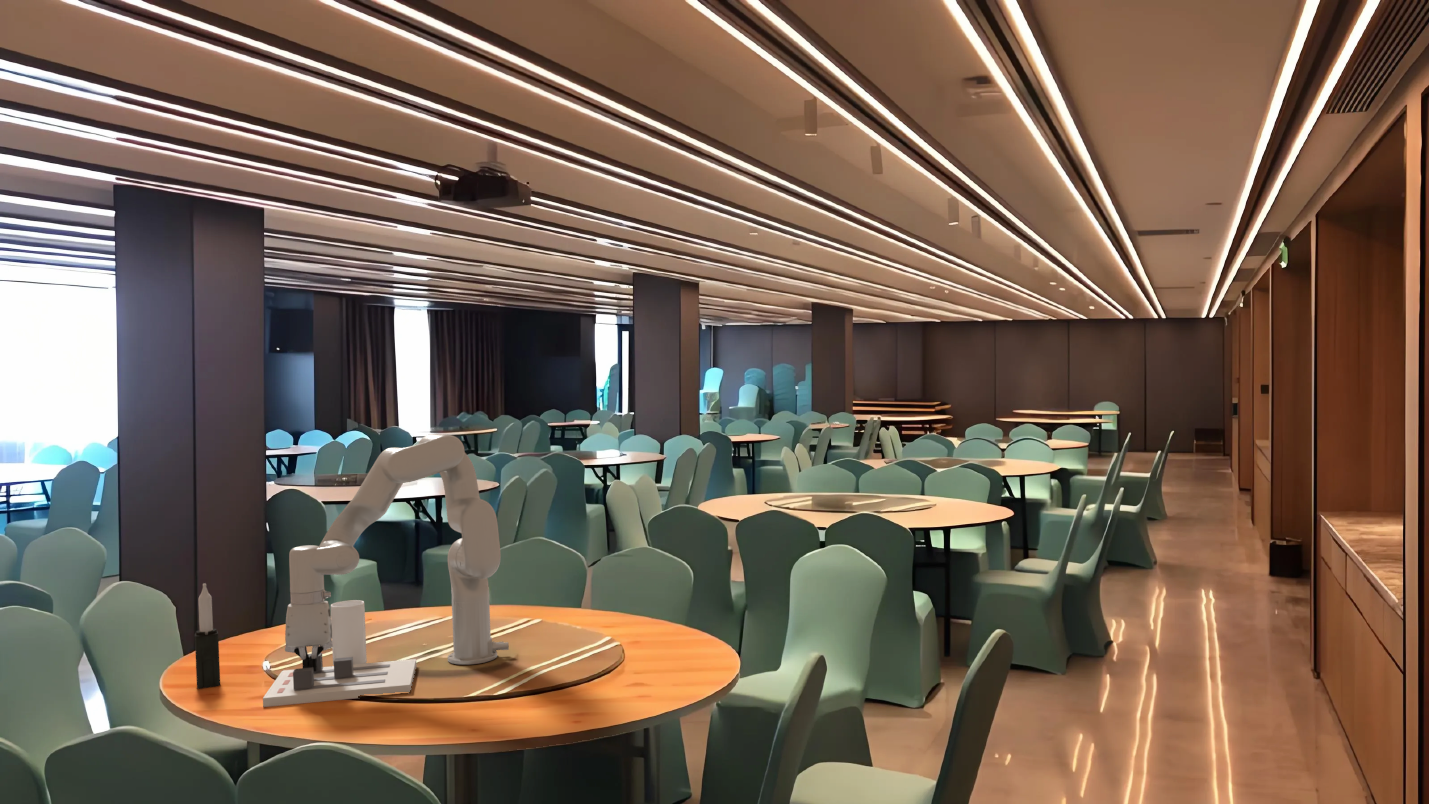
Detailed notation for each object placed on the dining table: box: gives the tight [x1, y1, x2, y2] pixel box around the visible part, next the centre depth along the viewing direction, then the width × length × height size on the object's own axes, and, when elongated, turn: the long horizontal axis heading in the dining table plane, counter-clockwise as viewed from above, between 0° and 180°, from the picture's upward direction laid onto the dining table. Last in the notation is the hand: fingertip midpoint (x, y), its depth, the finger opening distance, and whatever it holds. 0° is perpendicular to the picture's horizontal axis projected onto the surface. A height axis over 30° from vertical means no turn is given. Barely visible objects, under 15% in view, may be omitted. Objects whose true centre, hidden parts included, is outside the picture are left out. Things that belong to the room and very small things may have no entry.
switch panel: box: [262, 652, 417, 708], centre depth 252 cm, size 32×24×6 cm
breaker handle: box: [334, 657, 353, 678], centre depth 252 cm, size 4×3×4 cm
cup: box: [330, 599, 368, 666], centre depth 271 cm, size 8×8×16 cm
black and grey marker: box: [194, 582, 221, 690], centre depth 256 cm, size 5×5×25 cm
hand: (310, 674), depth 250 cm, fingers closed
